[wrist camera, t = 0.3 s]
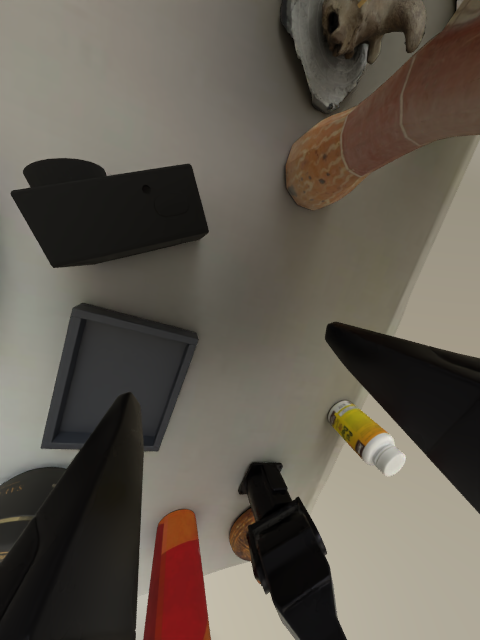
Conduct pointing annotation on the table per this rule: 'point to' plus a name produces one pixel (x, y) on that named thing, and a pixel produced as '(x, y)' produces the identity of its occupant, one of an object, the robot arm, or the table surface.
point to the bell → (242, 535)
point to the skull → (346, 39)
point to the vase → (394, 116)
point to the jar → (23, 502)
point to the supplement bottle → (366, 438)
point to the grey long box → (361, 2)
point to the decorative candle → (459, 3)
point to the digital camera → (108, 210)
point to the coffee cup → (177, 582)
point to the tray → (116, 374)
